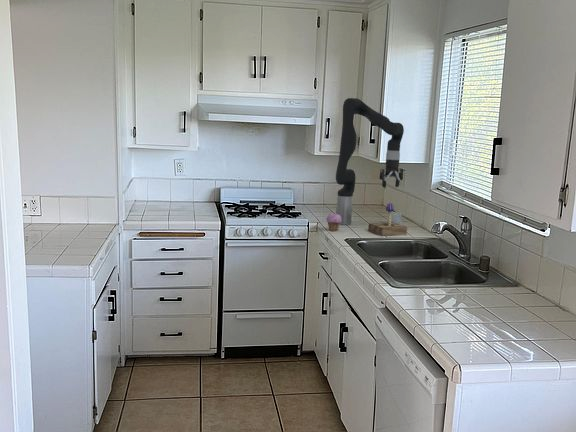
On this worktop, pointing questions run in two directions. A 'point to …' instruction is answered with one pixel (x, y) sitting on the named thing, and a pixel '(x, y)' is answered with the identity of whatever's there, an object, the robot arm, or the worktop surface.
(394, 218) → the medicine box
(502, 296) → the worktop surface
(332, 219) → the cupcake
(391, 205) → the toy lamp
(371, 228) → the socket block
